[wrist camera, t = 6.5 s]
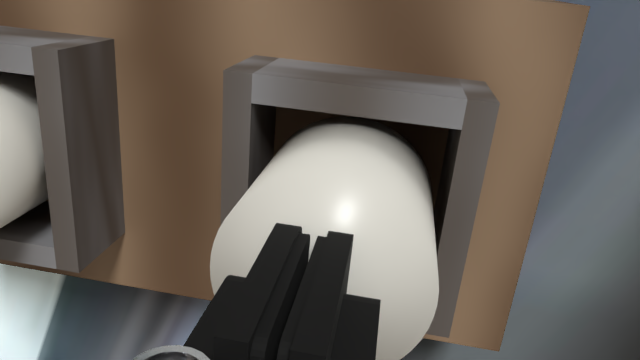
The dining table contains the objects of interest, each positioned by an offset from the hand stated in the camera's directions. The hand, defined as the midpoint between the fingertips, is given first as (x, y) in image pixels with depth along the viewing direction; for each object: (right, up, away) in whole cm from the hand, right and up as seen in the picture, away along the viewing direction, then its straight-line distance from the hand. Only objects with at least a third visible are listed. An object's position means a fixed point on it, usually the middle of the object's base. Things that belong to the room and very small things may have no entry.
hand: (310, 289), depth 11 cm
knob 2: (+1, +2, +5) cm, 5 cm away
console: (-4, +5, +13) cm, 14 cm away
